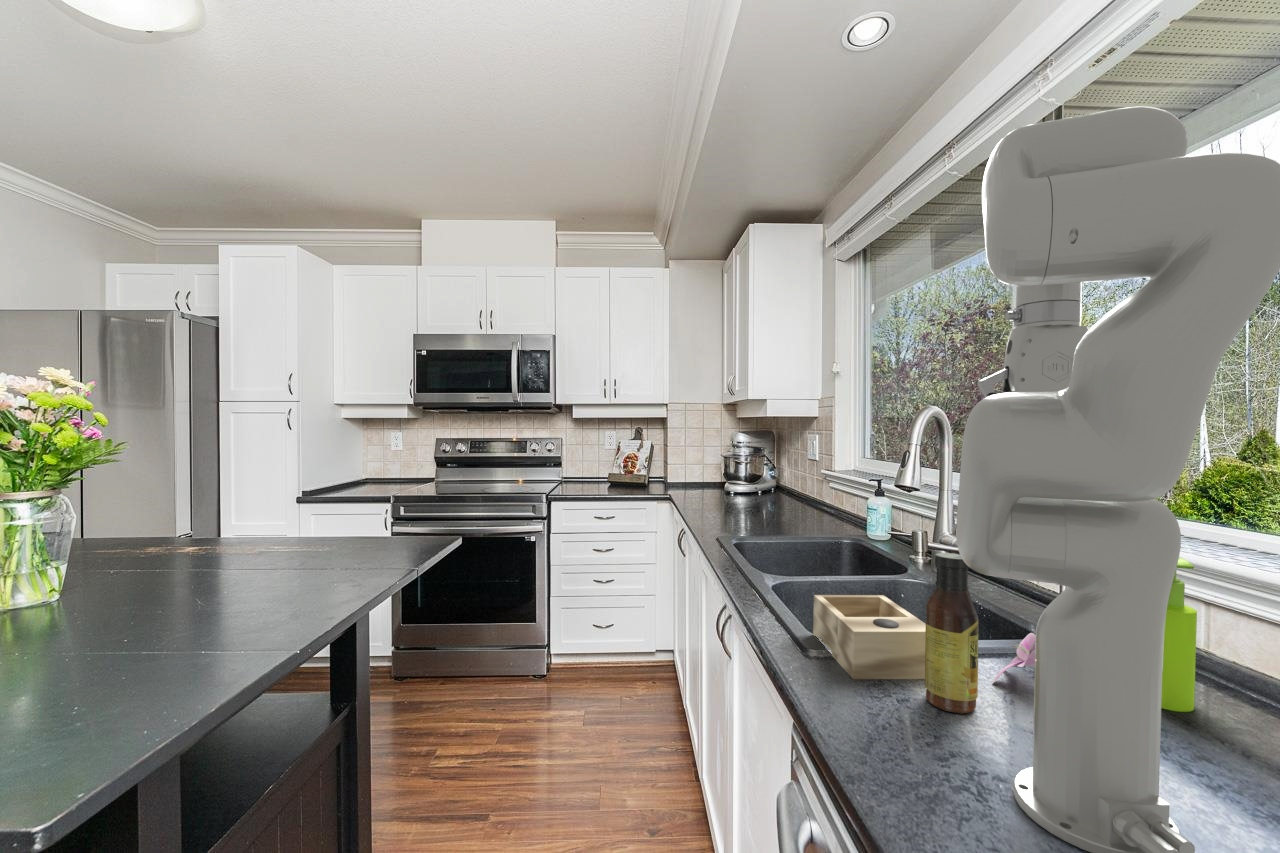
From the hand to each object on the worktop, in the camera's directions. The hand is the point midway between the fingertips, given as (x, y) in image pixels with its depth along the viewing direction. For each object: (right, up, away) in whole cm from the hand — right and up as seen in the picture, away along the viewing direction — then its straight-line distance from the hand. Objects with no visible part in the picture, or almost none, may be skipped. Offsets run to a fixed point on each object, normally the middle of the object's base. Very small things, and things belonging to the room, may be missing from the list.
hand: (1044, 440), depth 81 cm
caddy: (-20, -35, +12) cm, 42 cm away
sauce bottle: (-15, -35, -4) cm, 39 cm away
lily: (-1, -36, +3) cm, 36 cm away
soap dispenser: (+15, -36, -3) cm, 39 cm away
